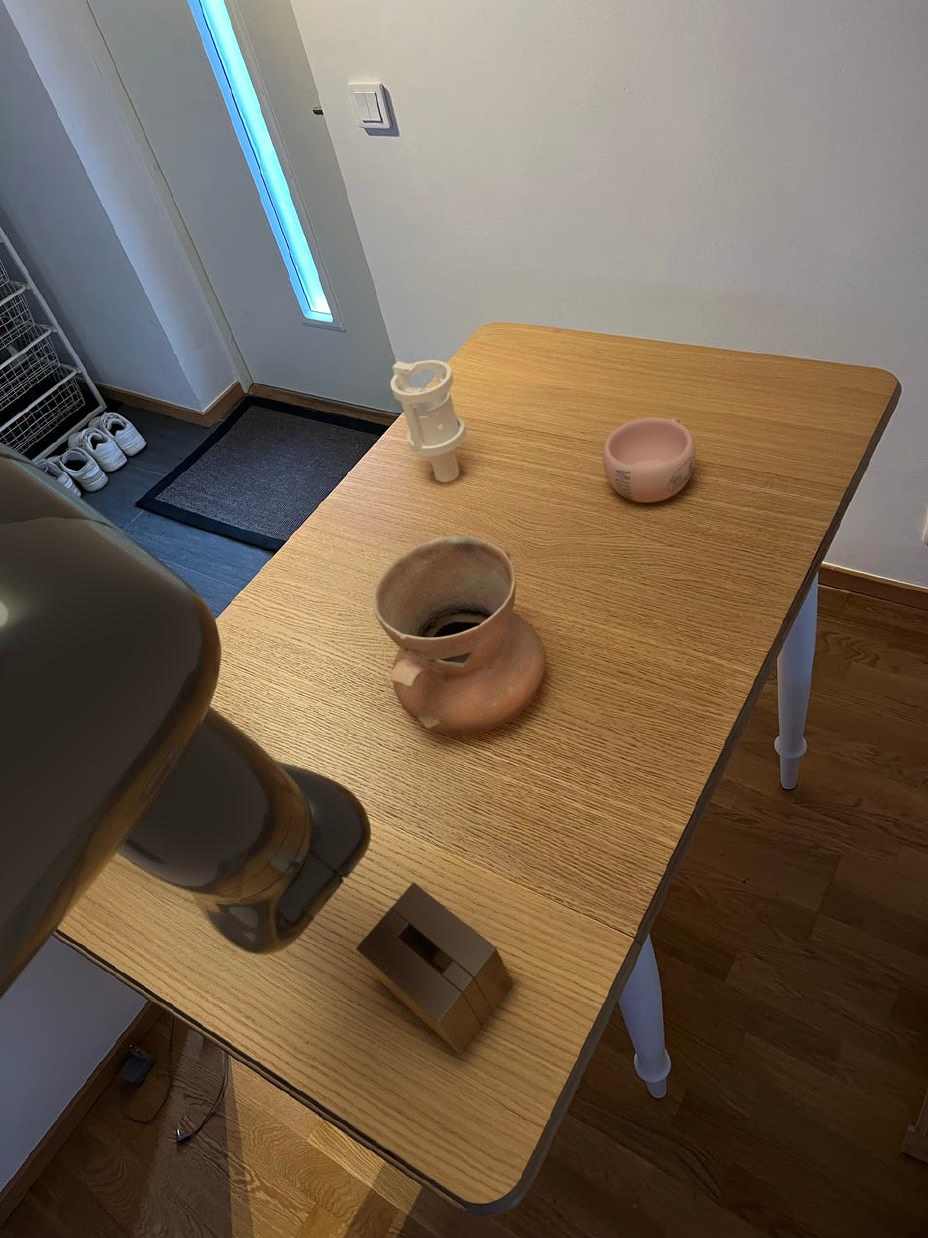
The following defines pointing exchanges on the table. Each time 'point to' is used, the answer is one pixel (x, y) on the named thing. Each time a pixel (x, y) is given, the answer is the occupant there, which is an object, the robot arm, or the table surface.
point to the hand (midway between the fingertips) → (31, 635)
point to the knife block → (463, 954)
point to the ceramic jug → (458, 636)
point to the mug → (649, 458)
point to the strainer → (430, 416)
